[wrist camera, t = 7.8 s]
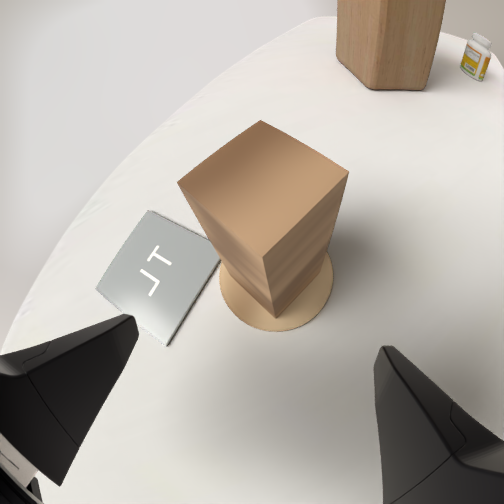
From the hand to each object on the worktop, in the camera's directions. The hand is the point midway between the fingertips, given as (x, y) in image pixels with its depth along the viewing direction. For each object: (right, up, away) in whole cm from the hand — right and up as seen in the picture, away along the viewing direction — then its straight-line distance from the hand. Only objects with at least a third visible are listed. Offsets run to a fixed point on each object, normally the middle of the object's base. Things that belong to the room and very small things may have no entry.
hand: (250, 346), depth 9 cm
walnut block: (+2, +2, +9) cm, 9 cm away
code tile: (-7, +2, +11) cm, 13 cm away
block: (+18, +28, +19) cm, 38 cm away
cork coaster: (+2, +2, +9) cm, 10 cm away
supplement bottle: (+43, +38, +20) cm, 60 cm away
